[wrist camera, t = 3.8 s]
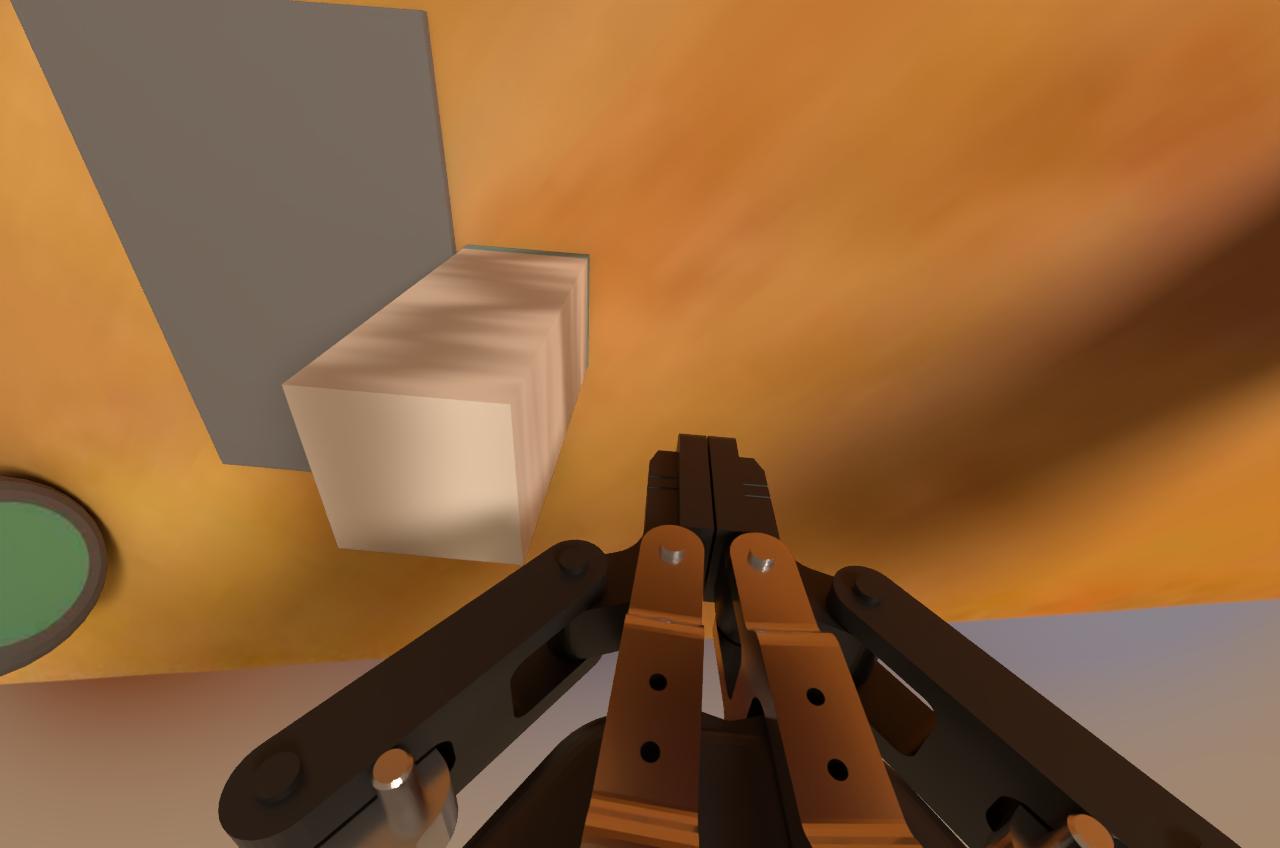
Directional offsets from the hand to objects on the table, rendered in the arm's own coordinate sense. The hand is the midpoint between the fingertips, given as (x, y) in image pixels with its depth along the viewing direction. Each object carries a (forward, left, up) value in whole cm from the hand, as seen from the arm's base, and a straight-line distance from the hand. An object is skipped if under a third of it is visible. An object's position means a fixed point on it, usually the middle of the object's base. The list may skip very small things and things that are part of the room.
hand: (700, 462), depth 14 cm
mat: (+17, 0, -10) cm, 20 cm away
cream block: (+7, 0, -10) cm, 12 cm away
